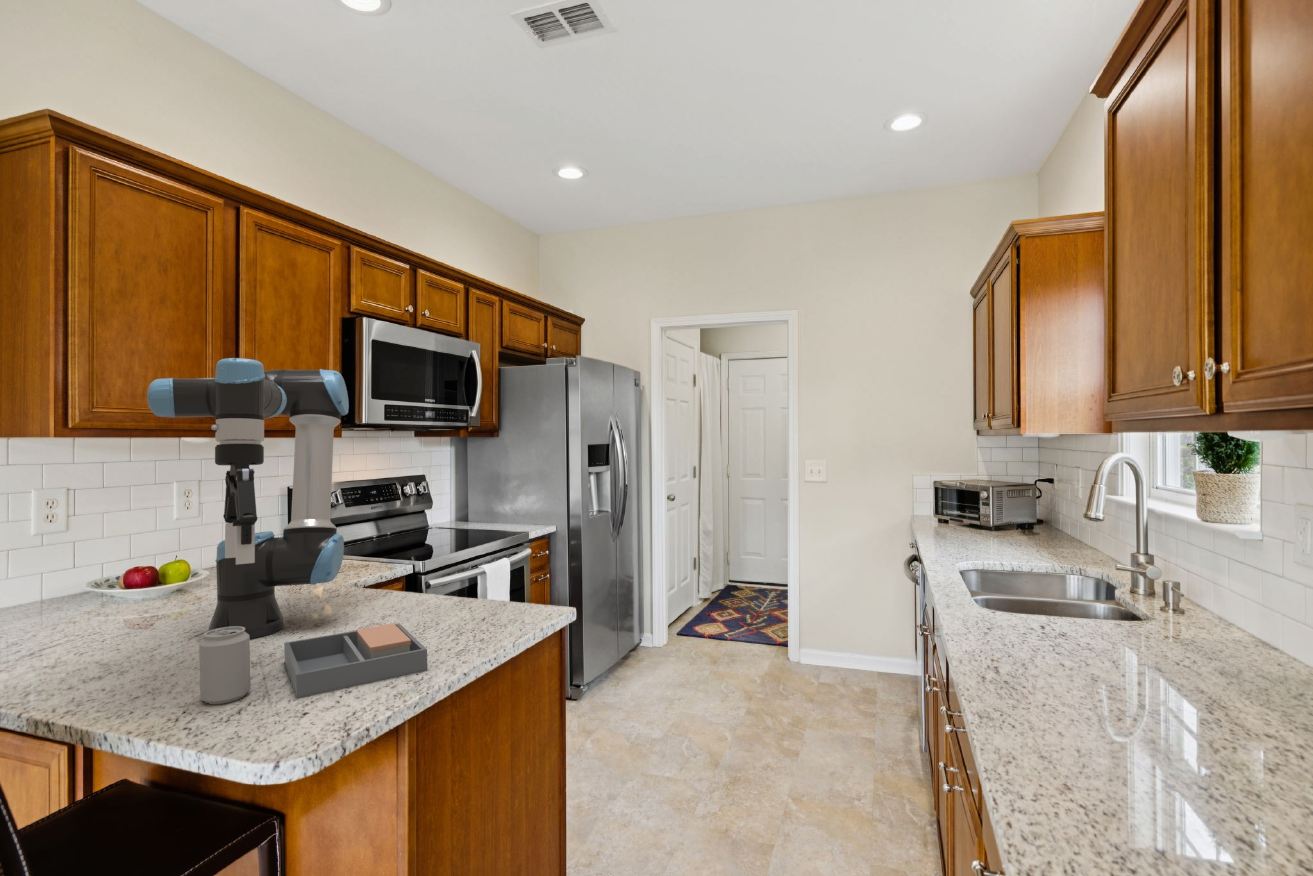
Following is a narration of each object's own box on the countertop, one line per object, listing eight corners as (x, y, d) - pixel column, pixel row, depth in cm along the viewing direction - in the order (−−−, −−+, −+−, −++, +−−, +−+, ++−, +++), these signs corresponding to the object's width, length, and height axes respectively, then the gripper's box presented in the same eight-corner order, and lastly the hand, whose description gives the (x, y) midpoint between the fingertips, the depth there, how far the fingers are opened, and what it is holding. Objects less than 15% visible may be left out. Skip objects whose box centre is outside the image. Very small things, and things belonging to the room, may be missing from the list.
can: (225, 707, 111) (224, 637, 111) (189, 704, 112) (187, 635, 112) (260, 690, 118) (259, 624, 118) (226, 688, 120) (224, 623, 120)
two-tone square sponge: (356, 654, 134) (356, 629, 134) (394, 647, 138) (393, 623, 138) (370, 675, 122) (370, 647, 122) (411, 666, 126) (411, 640, 126)
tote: (284, 667, 130) (284, 642, 130) (399, 646, 142) (399, 623, 142) (296, 703, 112) (296, 674, 112) (427, 675, 124) (427, 649, 124)
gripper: (207, 447, 126) (206, 557, 125) (224, 439, 107) (223, 569, 106) (252, 447, 131) (251, 553, 130) (276, 439, 112) (276, 563, 110)
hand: (239, 560), depth 118 cm, fingers open, 13 cm apart
